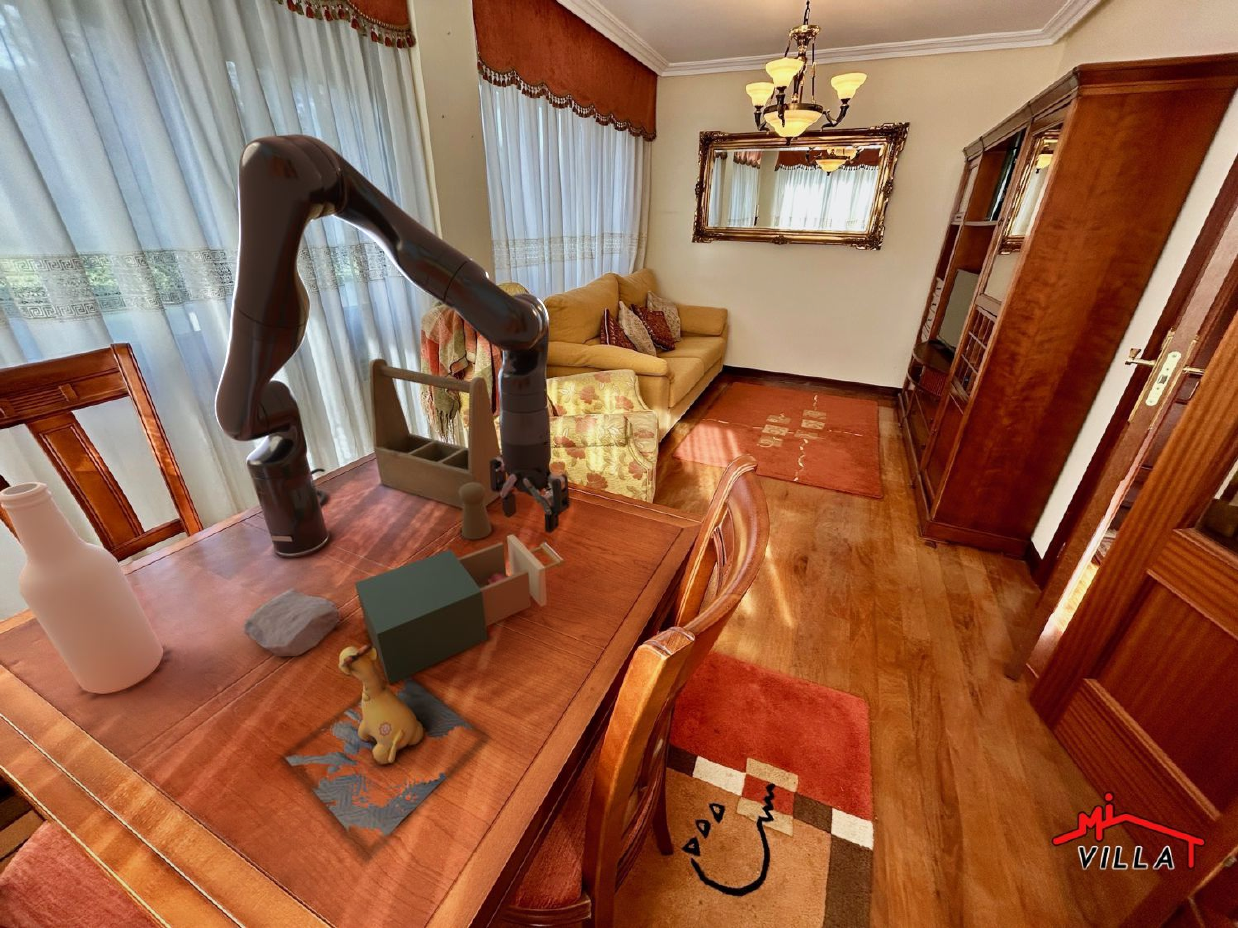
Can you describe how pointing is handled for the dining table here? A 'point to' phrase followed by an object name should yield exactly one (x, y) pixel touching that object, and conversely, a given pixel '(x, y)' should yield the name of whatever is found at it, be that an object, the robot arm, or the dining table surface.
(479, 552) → the drawer
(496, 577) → the red ridged block
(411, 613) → the cabinet
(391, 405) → the caddy
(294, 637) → the stone block
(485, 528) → the wooden peg doll
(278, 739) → the dining table surface
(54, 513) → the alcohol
